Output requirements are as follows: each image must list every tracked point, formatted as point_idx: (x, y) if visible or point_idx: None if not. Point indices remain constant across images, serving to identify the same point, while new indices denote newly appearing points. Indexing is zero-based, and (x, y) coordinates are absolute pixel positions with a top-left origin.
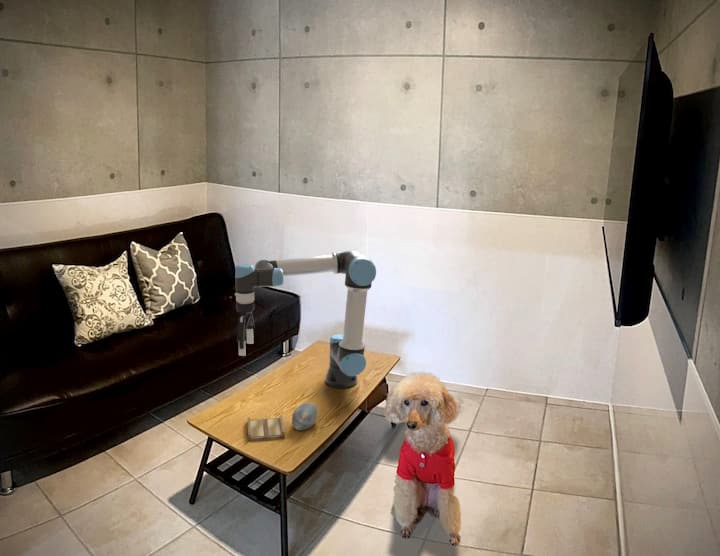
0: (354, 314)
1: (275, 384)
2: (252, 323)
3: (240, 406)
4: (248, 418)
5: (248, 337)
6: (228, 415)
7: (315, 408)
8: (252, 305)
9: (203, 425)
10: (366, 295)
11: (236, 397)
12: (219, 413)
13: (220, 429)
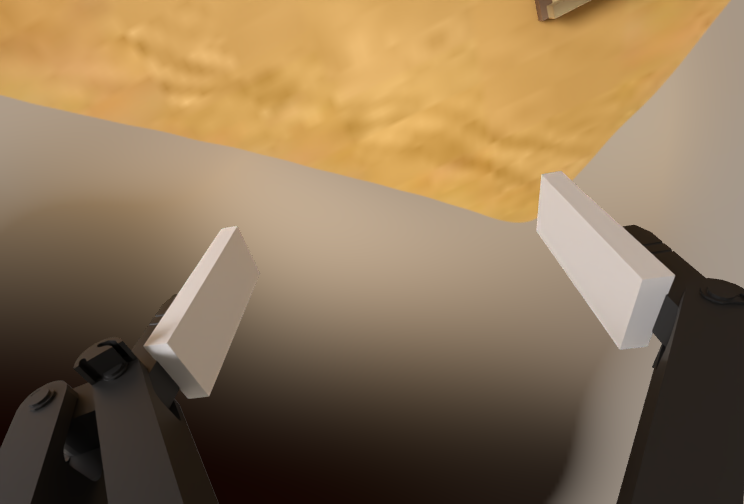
0: None
1: (147, 53)
2: (64, 430)
3: (404, 117)
4: (564, 7)
5: (234, 301)
6: (486, 129)
7: None
8: None
9: None
10: None
11: (338, 165)
12: (475, 167)
13: (600, 108)
